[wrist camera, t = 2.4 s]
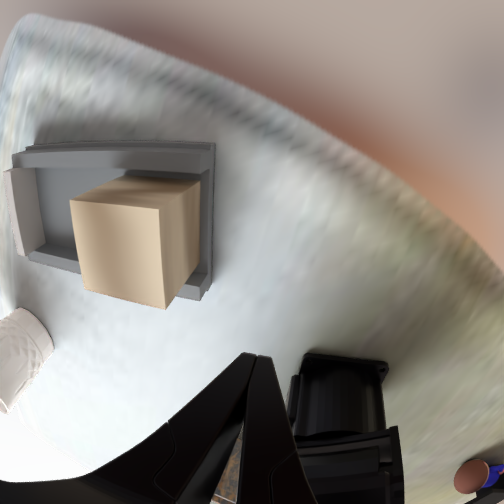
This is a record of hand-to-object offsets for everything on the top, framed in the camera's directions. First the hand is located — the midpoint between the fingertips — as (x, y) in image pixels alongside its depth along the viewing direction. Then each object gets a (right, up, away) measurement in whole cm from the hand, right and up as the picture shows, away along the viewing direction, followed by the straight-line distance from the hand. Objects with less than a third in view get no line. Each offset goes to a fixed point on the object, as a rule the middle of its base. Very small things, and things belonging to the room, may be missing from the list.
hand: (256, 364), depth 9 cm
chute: (-10, +6, +11) cm, 16 cm away
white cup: (-25, -6, +20) cm, 33 cm away
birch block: (-6, +5, +9) cm, 12 cm away
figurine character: (+33, -27, +18) cm, 46 cm away
